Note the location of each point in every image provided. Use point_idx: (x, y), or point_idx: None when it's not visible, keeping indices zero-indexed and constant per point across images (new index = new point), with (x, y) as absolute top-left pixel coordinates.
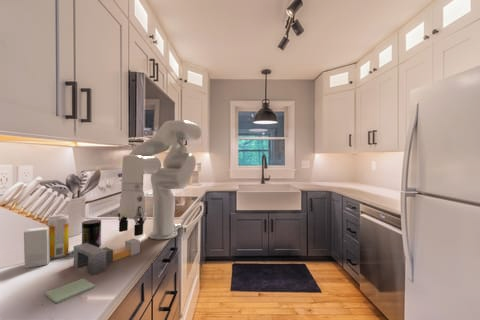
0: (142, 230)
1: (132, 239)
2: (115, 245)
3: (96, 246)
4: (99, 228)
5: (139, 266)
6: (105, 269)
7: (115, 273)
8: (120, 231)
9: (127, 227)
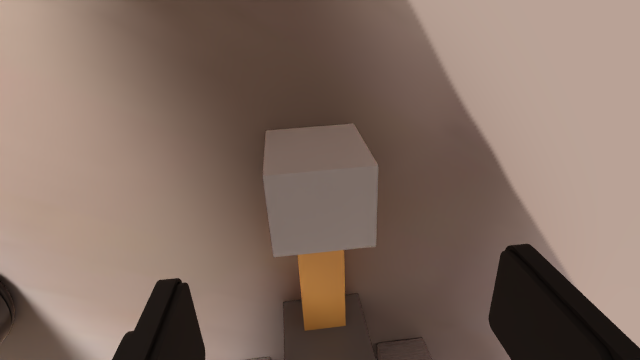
0: (555, 277)
1: (281, 196)
2: (16, 171)
3: (2, 298)
4: None
5: (537, 231)
6: (425, 345)
7: (486, 322)
8: (202, 353)
9: (176, 309)
